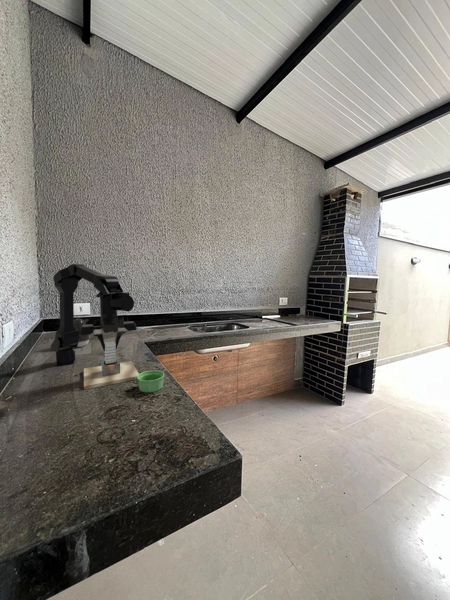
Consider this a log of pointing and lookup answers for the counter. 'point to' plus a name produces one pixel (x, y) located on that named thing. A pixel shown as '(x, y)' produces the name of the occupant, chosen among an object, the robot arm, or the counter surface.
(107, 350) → the steel post
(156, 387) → the ramekin
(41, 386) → the counter surface
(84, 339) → the pump dispenser
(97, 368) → the base
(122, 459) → the counter surface
